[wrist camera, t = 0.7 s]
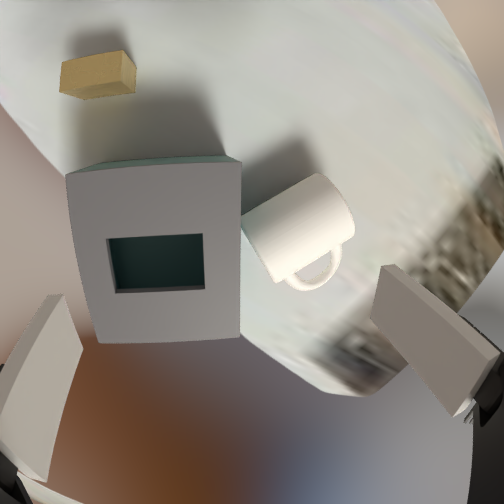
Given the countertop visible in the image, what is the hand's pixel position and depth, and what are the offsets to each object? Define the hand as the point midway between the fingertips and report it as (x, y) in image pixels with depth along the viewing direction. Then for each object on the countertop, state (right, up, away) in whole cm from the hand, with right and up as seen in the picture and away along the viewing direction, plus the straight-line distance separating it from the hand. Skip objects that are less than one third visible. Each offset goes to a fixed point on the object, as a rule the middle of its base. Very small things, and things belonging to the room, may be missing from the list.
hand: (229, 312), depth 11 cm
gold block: (-14, +20, +14) cm, 28 cm away
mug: (+6, +5, +25) cm, 26 cm away
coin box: (-9, +5, +21) cm, 23 cm away
